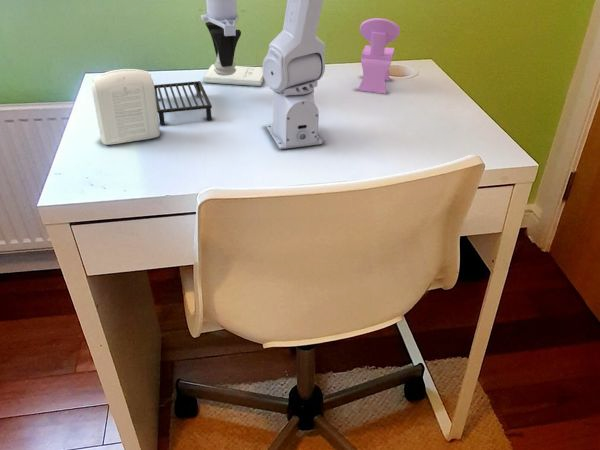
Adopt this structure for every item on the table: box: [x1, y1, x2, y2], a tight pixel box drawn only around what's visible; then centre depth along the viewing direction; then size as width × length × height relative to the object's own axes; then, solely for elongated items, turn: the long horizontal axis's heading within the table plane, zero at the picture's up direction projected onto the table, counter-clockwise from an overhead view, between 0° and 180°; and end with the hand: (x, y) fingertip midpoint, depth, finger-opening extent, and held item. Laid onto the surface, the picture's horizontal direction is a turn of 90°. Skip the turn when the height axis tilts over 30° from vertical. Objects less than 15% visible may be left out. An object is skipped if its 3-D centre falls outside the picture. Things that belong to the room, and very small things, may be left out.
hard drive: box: [203, 63, 264, 87], centre depth 123 cm, size 2×8×12 cm
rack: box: [154, 80, 213, 126], centre depth 108 cm, size 13×10×3 cm
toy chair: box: [357, 17, 401, 95], centre depth 118 cm, size 8×9×15 cm
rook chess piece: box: [214, 55, 237, 76], centre depth 109 cm, size 4×4×8 cm
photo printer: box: [91, 68, 161, 145], centre depth 95 cm, size 10×4×12 cm, turn 115°
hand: (224, 62), depth 110 cm, fingers closed on rook chess piece, 3 cm apart
